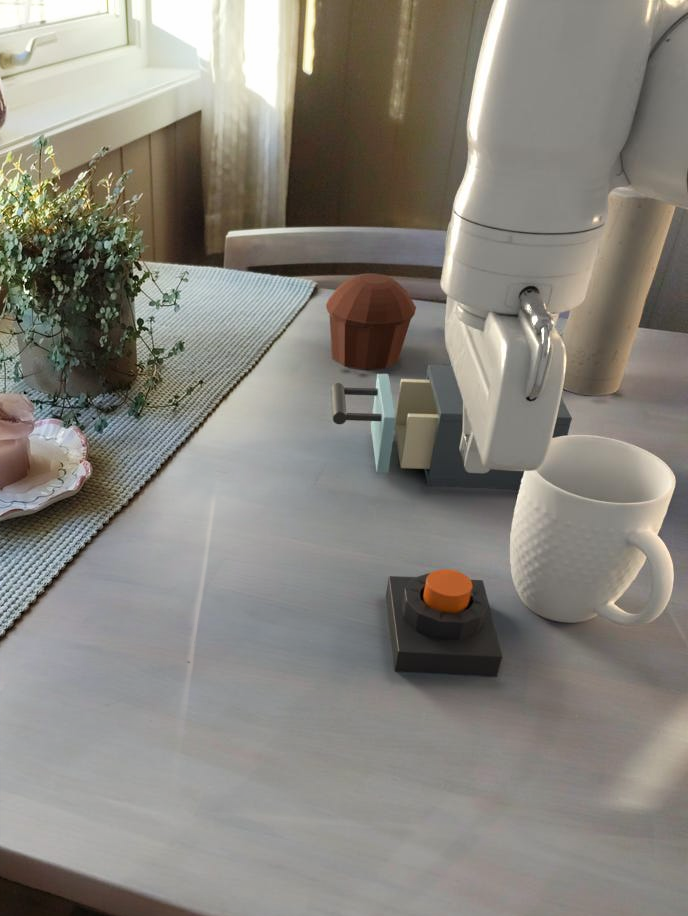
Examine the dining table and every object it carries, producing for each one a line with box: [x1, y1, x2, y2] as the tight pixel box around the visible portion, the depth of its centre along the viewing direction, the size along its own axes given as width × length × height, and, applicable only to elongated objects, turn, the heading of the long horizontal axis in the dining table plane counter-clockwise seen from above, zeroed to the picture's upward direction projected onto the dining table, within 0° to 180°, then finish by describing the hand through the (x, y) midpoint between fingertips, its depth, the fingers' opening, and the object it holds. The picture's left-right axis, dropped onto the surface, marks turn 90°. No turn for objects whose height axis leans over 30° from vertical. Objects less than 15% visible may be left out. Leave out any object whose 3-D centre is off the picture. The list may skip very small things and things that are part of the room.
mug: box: [509, 434, 676, 627], centre depth 72 cm, size 15×11×13 cm
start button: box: [423, 568, 473, 613], centre depth 72 cm, size 4×4×2 cm
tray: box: [330, 373, 439, 474], centre depth 95 cm, size 16×10×6 cm, turn 85°
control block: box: [385, 572, 503, 678], centre depth 73 cm, size 8×10×4 cm
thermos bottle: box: [561, 187, 677, 397], centre depth 103 cm, size 8×8×28 cm
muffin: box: [325, 272, 417, 371], centre depth 115 cm, size 12×11×10 cm
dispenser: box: [424, 364, 573, 490], centre depth 94 cm, size 13×12×8 cm
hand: (473, 463), depth 64 cm, fingers closed
